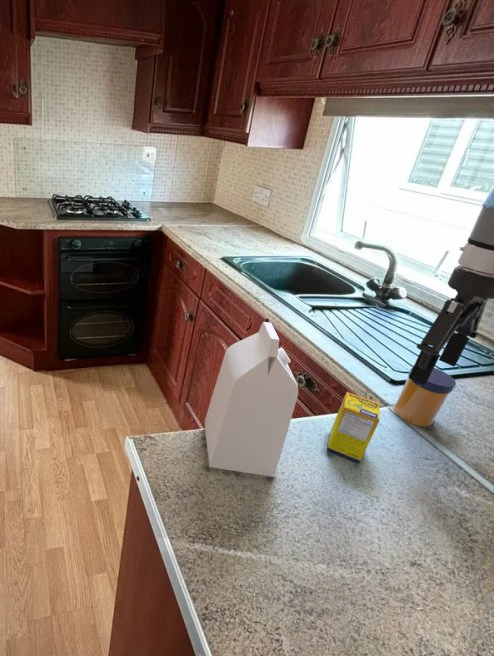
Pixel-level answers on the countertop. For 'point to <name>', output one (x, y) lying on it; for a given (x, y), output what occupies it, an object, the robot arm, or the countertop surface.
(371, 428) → the supplement box
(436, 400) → the jar
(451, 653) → the countertop surface
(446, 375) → the lid
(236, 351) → the milk
